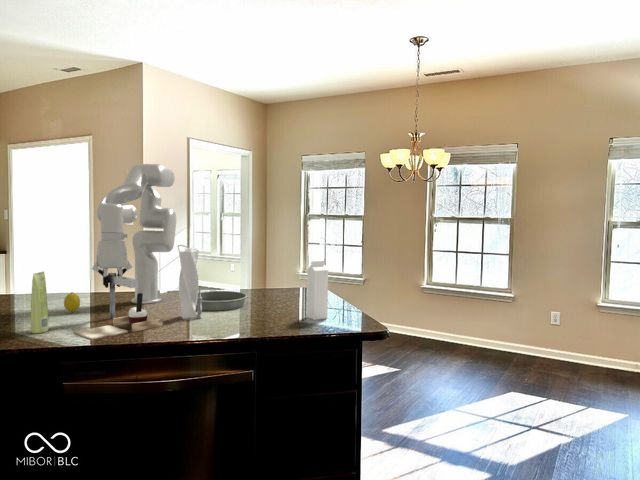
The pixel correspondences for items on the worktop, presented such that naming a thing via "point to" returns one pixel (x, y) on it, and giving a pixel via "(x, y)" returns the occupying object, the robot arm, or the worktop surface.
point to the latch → (120, 281)
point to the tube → (39, 304)
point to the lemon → (72, 302)
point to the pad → (100, 332)
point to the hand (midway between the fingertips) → (112, 286)
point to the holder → (138, 325)
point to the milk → (317, 290)
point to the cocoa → (137, 312)
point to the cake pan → (222, 300)
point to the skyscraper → (189, 285)
